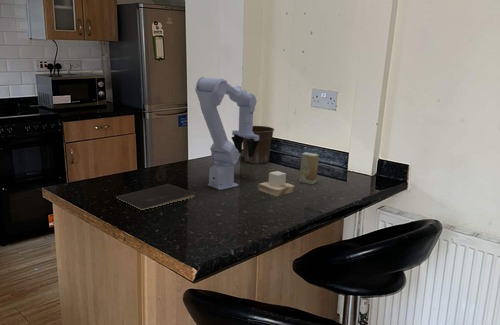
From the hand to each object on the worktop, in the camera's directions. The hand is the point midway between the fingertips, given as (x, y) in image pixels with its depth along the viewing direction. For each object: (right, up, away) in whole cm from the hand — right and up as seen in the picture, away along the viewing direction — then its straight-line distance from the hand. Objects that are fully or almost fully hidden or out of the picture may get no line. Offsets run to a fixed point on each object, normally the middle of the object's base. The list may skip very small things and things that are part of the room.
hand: (244, 154), depth 187 cm
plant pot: (+5, -3, +31) cm, 32 cm away
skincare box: (+26, -12, -1) cm, 29 cm away
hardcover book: (-31, -17, -28) cm, 45 cm away
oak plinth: (+12, -15, -14) cm, 24 cm away
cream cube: (+13, -12, -14) cm, 22 cm away
